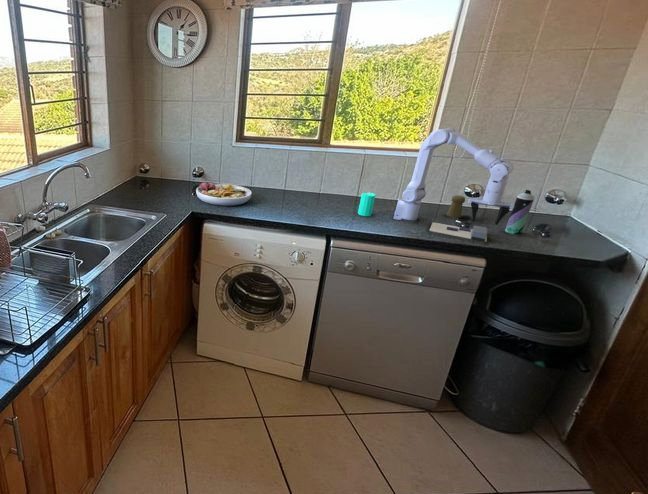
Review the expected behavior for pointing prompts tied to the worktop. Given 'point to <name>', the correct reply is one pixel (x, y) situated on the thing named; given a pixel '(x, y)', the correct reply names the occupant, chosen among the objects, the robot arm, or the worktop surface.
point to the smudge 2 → (464, 229)
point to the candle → (366, 204)
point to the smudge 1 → (452, 229)
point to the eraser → (479, 233)
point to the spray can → (520, 212)
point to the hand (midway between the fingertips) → (484, 222)
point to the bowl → (223, 194)
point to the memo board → (443, 229)
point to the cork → (456, 206)
